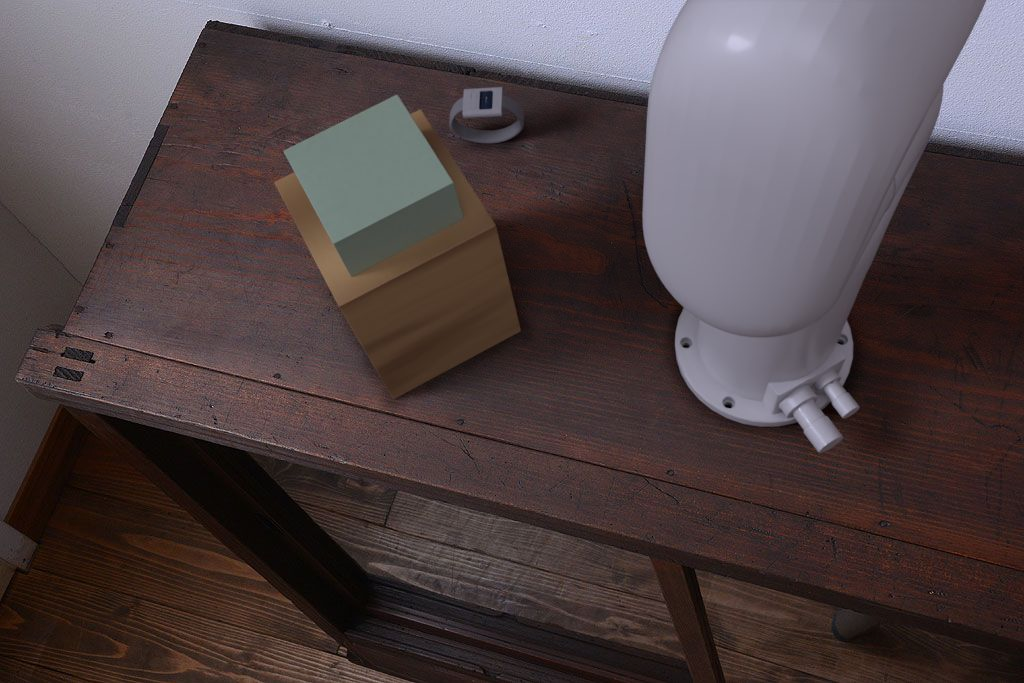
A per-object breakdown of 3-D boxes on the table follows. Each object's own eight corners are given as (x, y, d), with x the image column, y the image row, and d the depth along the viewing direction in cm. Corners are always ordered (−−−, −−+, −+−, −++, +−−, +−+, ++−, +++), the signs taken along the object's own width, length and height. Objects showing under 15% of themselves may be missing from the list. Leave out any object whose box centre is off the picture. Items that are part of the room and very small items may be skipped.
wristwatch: (453, 153, 82) (443, 115, 78) (455, 127, 84) (445, 88, 79) (526, 149, 82) (520, 111, 77) (527, 123, 83) (520, 84, 78)
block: (464, 219, 61) (453, 182, 58) (351, 277, 60) (333, 243, 57) (410, 133, 65) (397, 93, 61) (302, 187, 64) (282, 150, 60)
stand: (521, 331, 74) (496, 225, 61) (393, 399, 73) (339, 306, 60) (457, 228, 79) (420, 108, 66) (336, 290, 78) (273, 181, 64)
